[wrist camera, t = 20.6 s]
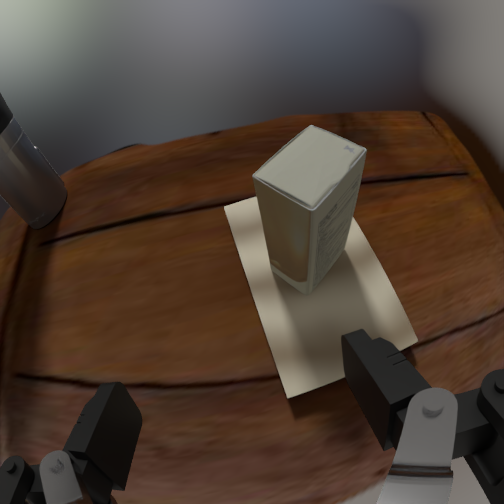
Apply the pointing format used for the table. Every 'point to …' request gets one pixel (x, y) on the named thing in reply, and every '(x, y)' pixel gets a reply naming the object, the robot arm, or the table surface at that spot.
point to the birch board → (317, 304)
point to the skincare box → (308, 204)
